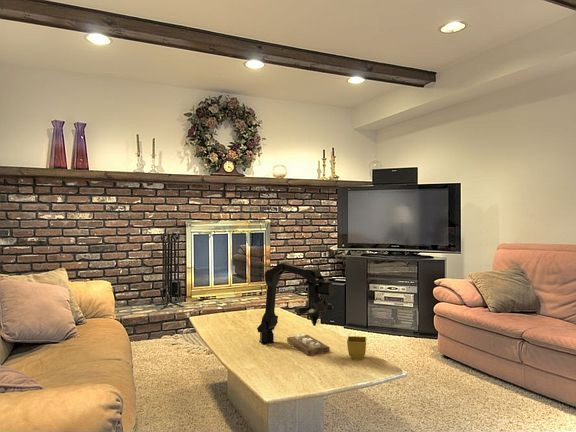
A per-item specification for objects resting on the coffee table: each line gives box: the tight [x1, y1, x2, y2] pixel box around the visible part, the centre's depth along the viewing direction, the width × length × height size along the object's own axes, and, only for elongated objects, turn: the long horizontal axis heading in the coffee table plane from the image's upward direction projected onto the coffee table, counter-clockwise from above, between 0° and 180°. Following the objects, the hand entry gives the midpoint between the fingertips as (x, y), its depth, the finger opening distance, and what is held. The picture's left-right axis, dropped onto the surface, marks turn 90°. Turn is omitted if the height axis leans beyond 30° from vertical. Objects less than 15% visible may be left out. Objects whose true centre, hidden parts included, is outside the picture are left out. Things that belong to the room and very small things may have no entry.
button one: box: [294, 333, 306, 340], centre depth 222 cm, size 4×4×3 cm
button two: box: [302, 338, 313, 344], centre depth 214 cm, size 4×4×3 cm
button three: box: [310, 342, 320, 348], centre depth 207 cm, size 4×4×3 cm
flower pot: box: [346, 335, 367, 361], centre depth 195 cm, size 9×9×9 cm
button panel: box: [286, 334, 330, 357], centre depth 214 cm, size 12×25×2 cm, turn 24°
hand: (314, 325), depth 207 cm, fingers closed
